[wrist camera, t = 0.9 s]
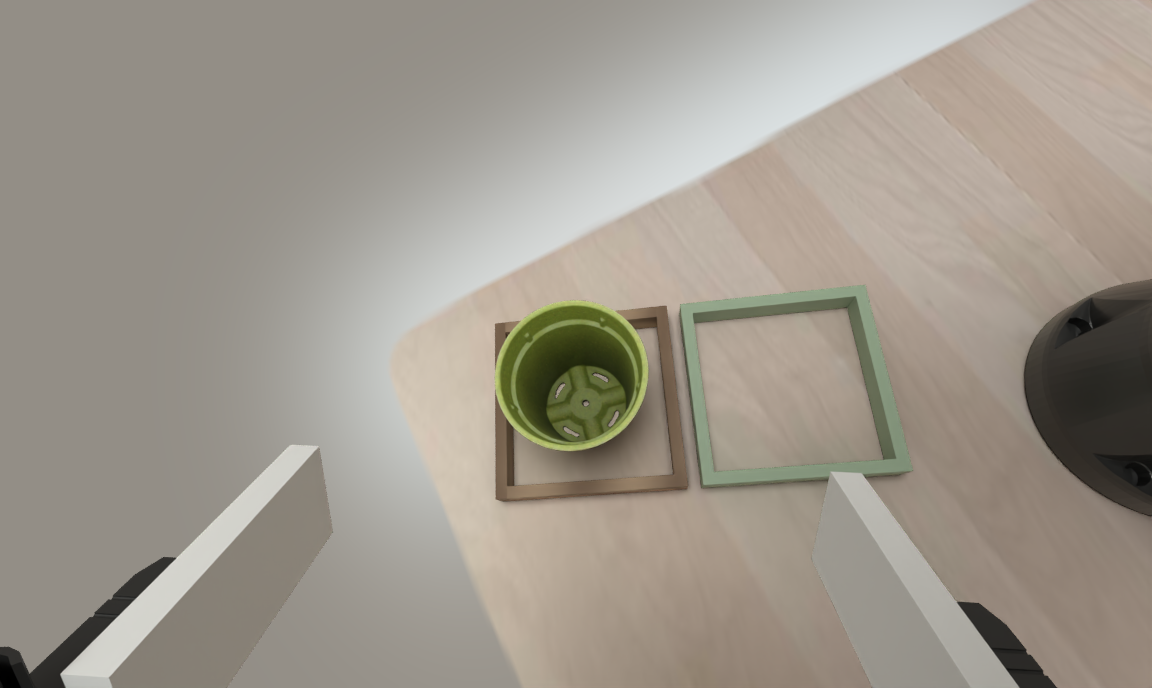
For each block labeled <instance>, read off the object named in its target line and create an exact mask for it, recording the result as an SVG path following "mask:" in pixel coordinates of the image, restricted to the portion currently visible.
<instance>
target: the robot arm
mask: <svg viewBox="0 0 1152 688" xmlns="http://www.w3.org/2000/svg"><path fill="white" fill-rule="evenodd" d="M1025 386H1026V394H1027V399H1028V403H1029V407H1030V410H1031V413H1032V415H1033V418H1034V420H1035V422H1036V425H1037V427H1038V429H1039V430H1040V432H1041V434H1042V436H1043V437H1044V439H1045V440H1046V442H1047V443H1048V445H1049V446H1050V448H1051V449H1052V450H1053V452H1054V453H1055V454H1056V455H1057V456H1058V457H1059V459H1060V460H1061V461H1062V462H1063V463H1064V464H1065V465H1066V466H1067V467H1068V468H1069V469H1070V470H1071V471H1072V472H1073V473H1074V474H1075V475H1077V476H1078V477H1079V478H1080V479H1081V480H1083V481H1084V482H1085V483H1087V484H1088V485H1089V486H1091V487H1092V488H1093V489H1095V490H1096V491H1098V492H1100V493H1101V494H1103V495H1104V496H1106V497H1108V498H1110V499H1111V500H1113V501H1115V502H1117V503H1119V504H1121V505H1123V506H1126V507H1128V508H1130V509H1132V510H1135V511H1138V512H1141V513H1143V514H1146V515H1150V516H1152V279H1151V280H1145V281H1139V282H1133V283H1127V284H1122V285H1118V286H1114V287H1111V288H1108V289H1105V290H1102V291H1099V292H1097V293H1094V294H1092V295H1090V296H1088V297H1086V298H1084V299H1082V300H1081V301H1079V302H1077V303H1076V304H1074V305H1072V306H1071V307H1069V308H1067V309H1065V310H1064V311H1062V312H1061V313H1059V314H1058V315H1056V316H1055V317H1054V318H1053V319H1051V320H1050V321H1049V322H1048V323H1047V324H1046V325H1045V327H1044V328H1043V329H1042V330H1041V331H1040V333H1039V334H1038V336H1037V337H1036V339H1035V341H1034V343H1033V345H1032V347H1031V349H1030V352H1029V355H1028V359H1027V363H1026V370H1025ZM332 533H333V529H332V523H331V517H330V511H329V504H328V498H327V492H326V486H325V480H324V473H323V467H322V462H321V455H320V449H319V446H304V445H290V446H289V447H288V448H287V449H286V450H285V451H284V452H283V453H282V454H281V455H280V456H279V457H278V458H277V459H276V460H275V461H274V462H273V463H272V464H271V465H270V466H269V467H268V468H267V469H266V470H265V471H264V472H263V473H262V474H261V475H260V476H259V477H258V478H257V479H256V480H255V481H254V482H253V483H252V484H251V485H250V486H249V487H248V488H247V489H246V490H245V491H244V492H243V493H242V494H241V495H240V496H239V497H238V498H237V499H236V500H235V501H234V502H233V503H232V504H231V505H230V506H229V507H228V508H227V509H226V510H225V511H224V512H223V513H222V514H221V515H220V516H218V517H217V518H216V520H215V521H213V522H212V524H210V525H209V527H208V528H206V529H205V531H203V532H202V533H201V534H200V535H199V536H198V538H196V539H195V540H194V541H193V542H192V543H191V545H189V546H188V547H187V548H186V549H185V550H184V551H183V552H182V553H181V554H180V555H179V557H177V558H171V557H163V558H161V559H160V560H158V561H157V562H155V563H153V564H151V565H150V566H148V567H147V568H145V569H143V570H142V571H140V572H138V573H137V574H135V575H134V576H133V577H132V578H131V579H130V580H129V581H128V582H127V583H126V584H124V586H122V587H121V588H120V589H119V590H118V591H117V592H116V593H115V594H114V595H113V598H112V599H111V600H108V601H106V603H104V605H102V606H101V607H100V608H99V609H98V610H97V611H96V612H95V615H94V616H93V617H90V618H88V619H87V621H85V622H84V623H83V624H82V625H81V626H80V627H79V628H78V629H77V630H76V631H75V632H74V633H73V634H71V635H70V636H69V637H68V638H67V639H66V640H65V641H64V642H63V643H62V644H61V645H60V646H59V647H58V648H57V649H56V650H55V651H54V652H52V653H51V654H50V655H49V656H48V657H47V658H46V659H45V660H44V661H43V662H42V663H41V664H40V665H39V666H37V667H36V668H35V669H34V670H33V671H32V672H31V673H30V674H29V672H28V670H27V668H26V665H25V663H24V661H23V659H22V656H21V654H20V652H19V651H17V650H15V649H12V648H10V647H0V688H227V687H228V685H229V684H230V683H231V681H232V680H233V678H234V677H235V675H236V674H237V672H238V671H239V669H240V668H241V666H242V665H243V663H244V662H245V661H246V659H247V658H248V656H249V655H250V653H251V652H252V650H253V649H254V647H255V646H256V644H257V643H258V641H259V640H260V639H261V637H262V635H263V634H264V633H265V631H266V630H267V628H268V627H269V625H270V624H271V622H272V621H273V619H274V618H275V617H276V615H277V614H278V612H279V611H280V609H281V608H282V606H283V605H284V603H285V602H286V600H287V599H288V597H289V596H290V595H291V593H292V592H293V590H294V589H295V587H296V586H297V584H298V582H299V581H300V580H301V578H302V577H303V575H304V574H305V572H306V571H307V570H308V568H309V567H310V565H311V564H312V562H313V561H314V559H315V558H316V556H317V555H318V553H319V552H320V550H321V549H322V548H323V546H324V545H325V543H326V542H327V540H328V539H329V537H330V536H331V534H332ZM811 559H812V561H813V563H814V565H815V567H816V570H817V572H818V574H819V576H820V578H821V580H822V582H823V584H824V587H825V589H826V591H827V593H828V595H829V597H830V599H831V601H832V603H833V606H834V608H835V610H836V612H837V614H838V616H839V618H840V620H841V622H842V625H843V627H844V629H845V631H846V633H847V635H848V637H849V639H850V641H851V644H852V646H853V648H854V650H855V652H856V654H857V656H858V658H859V660H860V663H861V665H862V667H863V669H864V671H865V673H866V675H867V677H868V680H869V682H870V684H871V686H872V688H1057V687H1056V686H1055V685H1054V684H1053V682H1052V681H1051V680H1050V679H1049V677H1048V676H1044V674H1043V670H1042V669H1041V667H1040V666H1039V665H1038V664H1037V662H1036V661H1035V660H1034V659H1033V657H1032V656H1031V655H1028V654H1027V652H1026V649H1025V647H1024V646H1023V645H1022V644H1021V642H1020V641H1019V640H1018V639H1017V637H1016V636H1015V635H1014V634H1013V633H1012V631H1011V630H1010V629H1009V628H1008V626H1007V625H1006V624H1005V623H1003V622H1002V621H1001V620H1000V619H998V618H997V617H996V616H994V615H993V614H992V613H991V612H989V611H988V610H987V609H986V608H984V607H983V606H982V605H981V604H979V603H970V602H956V601H955V599H954V598H953V597H952V595H951V594H950V593H949V591H948V590H947V589H946V587H945V586H944V584H943V583H942V582H941V580H940V579H939V578H938V576H937V575H936V574H935V572H934V571H933V570H932V568H931V567H930V565H929V564H928V563H927V561H926V560H925V559H924V557H923V556H922V555H921V553H920V552H919V551H918V549H917V548H916V546H915V545H914V544H913V542H912V541H911V540H910V538H909V537H908V536H907V534H906V533H905V532H904V530H903V529H902V527H901V526H900V525H899V523H898V522H897V521H896V519H895V518H894V517H893V515H892V514H891V512H890V511H889V510H888V508H887V507H886V506H885V504H884V503H883V502H882V500H881V499H880V498H879V496H878V495H877V493H876V492H875V491H874V489H873V488H872V487H871V485H870V484H869V483H868V481H867V480H866V479H865V477H864V476H863V474H862V473H850V472H830V476H829V480H828V485H827V490H826V494H825V499H824V503H823V508H822V512H821V517H820V522H819V526H818V531H817V535H816V540H815V545H814V549H813V554H812V558H811Z"/></svg>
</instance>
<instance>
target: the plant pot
mask: <svg viewBox="0 0 1152 688" xmlns="http://www.w3.org/2000/svg"><path fill="white" fill-rule="evenodd" d="M595 372H596V373H600V374H602V375H604V376H606V377H607V378H608V380H609V381H608V382H605V381H603V380H602V379H601V378H599V377H597V376H593V375H592V374H593V373H595ZM648 374H649V371H648V360H647V355H646V351H645V348H644V345H643V343H642V340H641V338H640V337H639V335H638V333H637V332H636V330H635V329H634V328H633V326H632V325H631V324H630V323H629V322H628V321H627V320H626V319H625V318H624V317H623V316H621V315H620V314H618V313H617V312H615V311H614V310H612V309H610V308H608V307H606V306H603V305H601V304H598V303H594V302H589V301H580V300H570V301H562V302H557V303H553V304H550V305H547V306H544V307H542V308H540V309H538V310H536V311H534V312H532V313H531V314H529V315H528V316H527V317H525V318H524V319H523V320H522V321H520V322H519V323H518V324H517V326H516V327H515V328H514V329H513V330H512V331H511V332H510V334H509V335H508V337H507V338H506V340H505V342H504V344H503V346H502V348H501V350H500V353H499V355H498V359H497V363H496V369H495V389H496V395H497V399H498V402H499V405H500V407H501V409H502V411H503V413H504V415H505V417H506V418H507V420H508V421H509V423H510V424H511V425H512V426H513V427H514V428H515V429H516V430H517V431H518V432H519V433H520V434H521V435H523V436H524V437H525V438H527V439H528V440H530V441H532V442H534V443H536V444H538V445H540V446H543V447H546V448H549V449H553V450H558V451H580V450H586V449H590V448H593V447H597V446H599V445H601V444H603V443H605V442H607V441H609V440H611V439H612V438H614V437H615V436H617V435H618V434H619V433H620V432H622V431H623V430H624V429H625V428H626V427H627V426H628V425H629V423H630V422H631V421H632V420H633V418H634V417H635V416H636V414H637V412H638V410H639V409H640V407H641V405H642V402H643V399H644V396H645V393H646V389H647V384H648ZM562 383H565V386H564V387H563V389H562V390H561V392H560V393H559V395H558V397H557V398H555V393H556V390H557V388H558V386H559V385H560V384H562ZM584 400H587V401H588V402H589V405H588V406H586V407H585V406H583V404H582V402H583V401H584ZM616 410H618V411H619V416H618V418H617V419H616V421H615V423H614V425H613V426H611V427H608V423H609V422H610V421H611V419H612V418H613V416H614V412H615V411H616ZM564 426H566V427H567V428H569V429H570V430H572V431H574V432H576V433H579V435H580V436H578V437H575V436H574V435H572V434H568V433H566V432H565V431H564V430H563V427H564Z"/></svg>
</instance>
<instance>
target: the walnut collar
mask: <svg viewBox="0 0 1152 688" xmlns="http://www.w3.org/2000/svg"><path fill="white" fill-rule="evenodd" d="M615 312H617V313H618V314H620V315H621V316H623V317H624V318H625V319H626V320H627V321H628V322H629V323H630V324H631V325H632V326H633V328H634V329H639V328H649V327H657V332H658V341H659V350H660V359H661V368H662V377H663V386H664V395H665V404H666V413H667V422H668V431H669V440H670V449H671V458H672V467H673V475H662V476H647V477H633V478H619V479H605V480H591V481H577V482H563V483H549V484H535V485H521V486H514V448H513V426H512V425H511V424H510V423H509V421H508V420H507V418H506V417H505V415H504V413H503V411H502V409H501V407H500V405H499V402H498V399H497V395H496V389H495V430H496V499H497V500H500V501H503V502H504V501H518V500H533V499H548V498H563V497H577V496H592V495H607V494H621V493H636V492H651V491H666V490H680V489H687V487H688V482H687V474H686V465H685V457H684V449H683V440H682V432H681V423H680V415H679V407H678V398H677V390H676V381H675V373H674V365H673V356H672V348H671V339H670V331H669V323H668V314H667V306H659V307H649V308H640V309H630V310H621V311H615ZM519 322H520V321H516V322H506V323H497V324H495V369H496V363H497V359H498V355H499V353H500V350H501V348H502V346H503V344H504V342H505V340H506V338H507V337H508V335H509V334H510V332H511V331H512V330H513V329H514V328H515V327H516V326H517V324H518V323H519Z"/></svg>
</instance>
